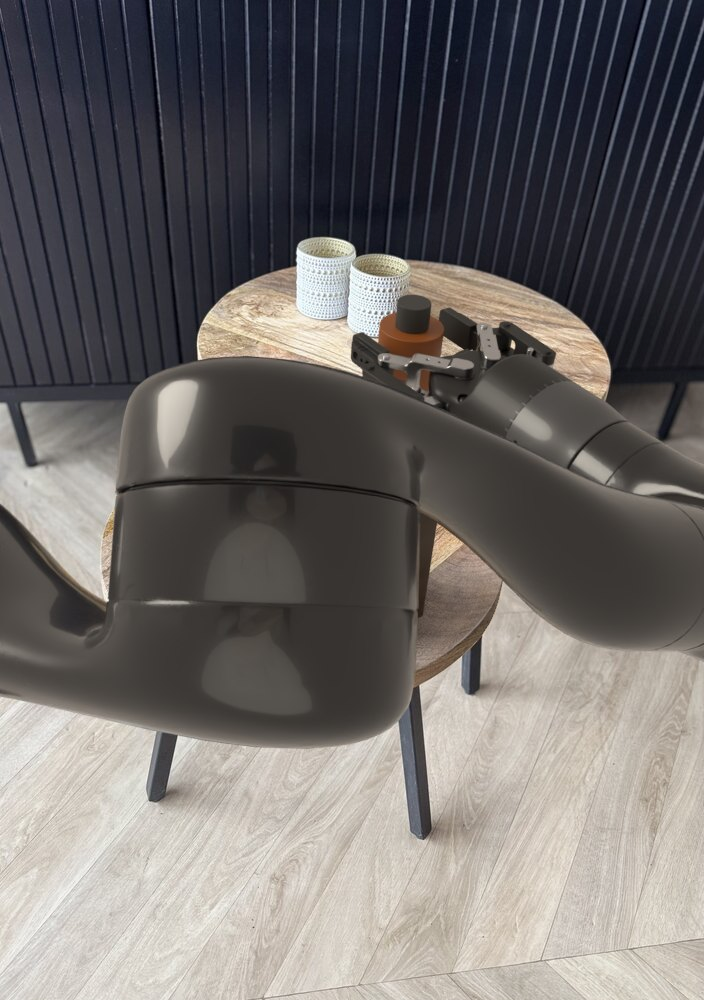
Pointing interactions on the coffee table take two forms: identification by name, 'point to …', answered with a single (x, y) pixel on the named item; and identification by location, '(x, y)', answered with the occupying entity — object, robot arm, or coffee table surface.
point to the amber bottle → (412, 333)
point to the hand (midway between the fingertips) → (399, 331)
